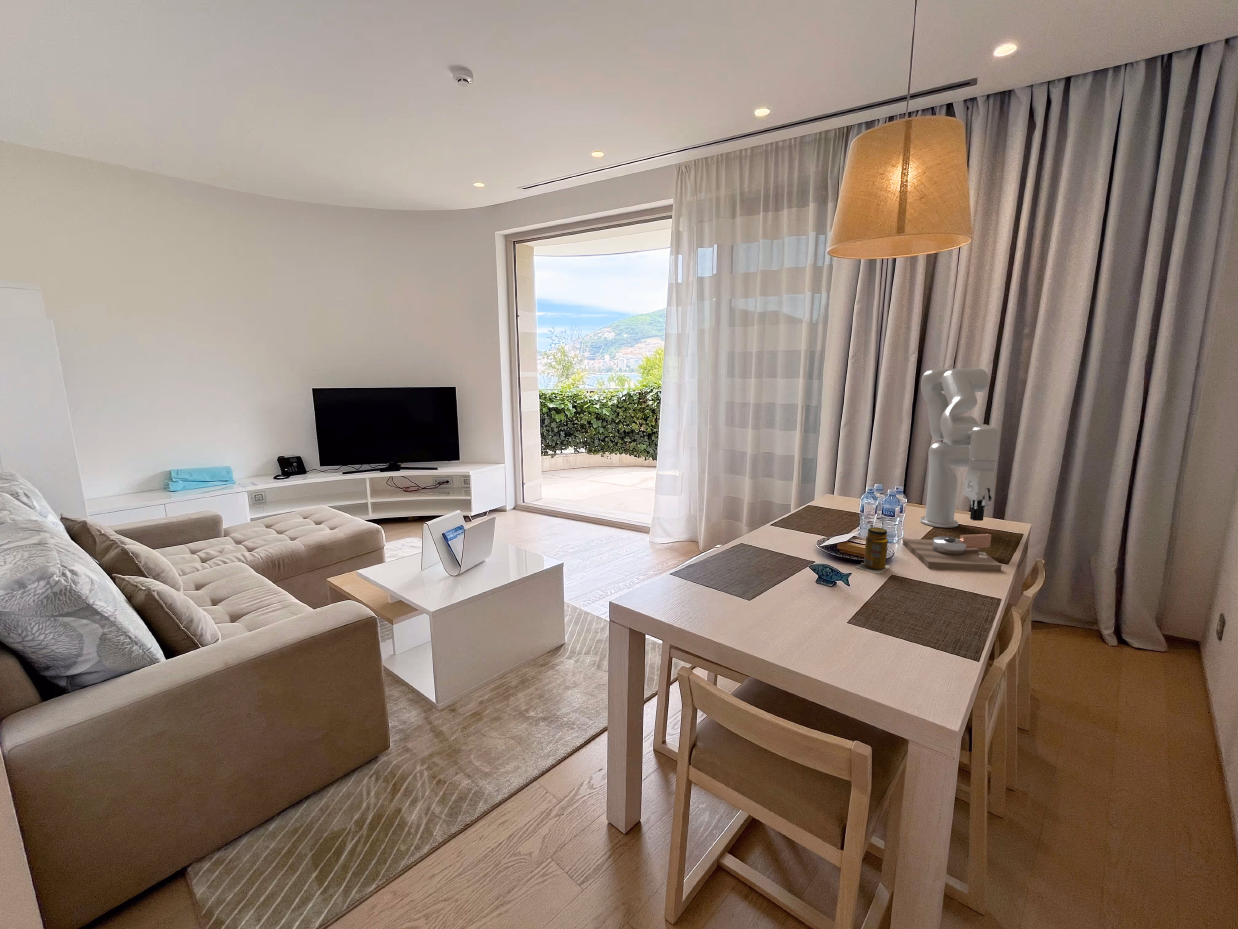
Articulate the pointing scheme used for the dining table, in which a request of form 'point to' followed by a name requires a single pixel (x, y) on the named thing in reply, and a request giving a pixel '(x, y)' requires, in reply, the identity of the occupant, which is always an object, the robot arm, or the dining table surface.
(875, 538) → the condiment
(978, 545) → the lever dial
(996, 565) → the wooden cutting board
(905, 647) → the dining table surface
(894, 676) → the dining table surface
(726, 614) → the dining table surface
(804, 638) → the dining table surface
